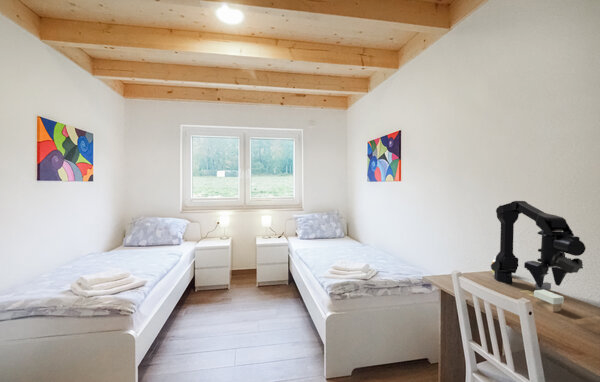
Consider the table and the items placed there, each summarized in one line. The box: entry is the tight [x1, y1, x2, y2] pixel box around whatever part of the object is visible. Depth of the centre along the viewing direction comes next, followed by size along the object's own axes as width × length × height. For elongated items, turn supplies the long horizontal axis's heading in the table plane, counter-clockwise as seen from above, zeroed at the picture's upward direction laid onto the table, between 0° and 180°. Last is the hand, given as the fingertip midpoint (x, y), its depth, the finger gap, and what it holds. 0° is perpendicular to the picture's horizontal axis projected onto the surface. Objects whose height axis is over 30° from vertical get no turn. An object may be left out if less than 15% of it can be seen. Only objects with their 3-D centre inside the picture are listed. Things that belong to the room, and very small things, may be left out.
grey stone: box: [534, 281, 552, 291], centre depth 116 cm, size 7×3×5 cm, turn 102°
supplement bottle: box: [491, 255, 497, 276], centre depth 137 cm, size 6×6×10 cm
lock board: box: [519, 289, 563, 313], centre depth 107 cm, size 17×13×4 cm
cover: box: [533, 289, 565, 304], centre depth 101 cm, size 7×5×2 cm
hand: (548, 286), depth 101 cm, fingers open, 9 cm apart
